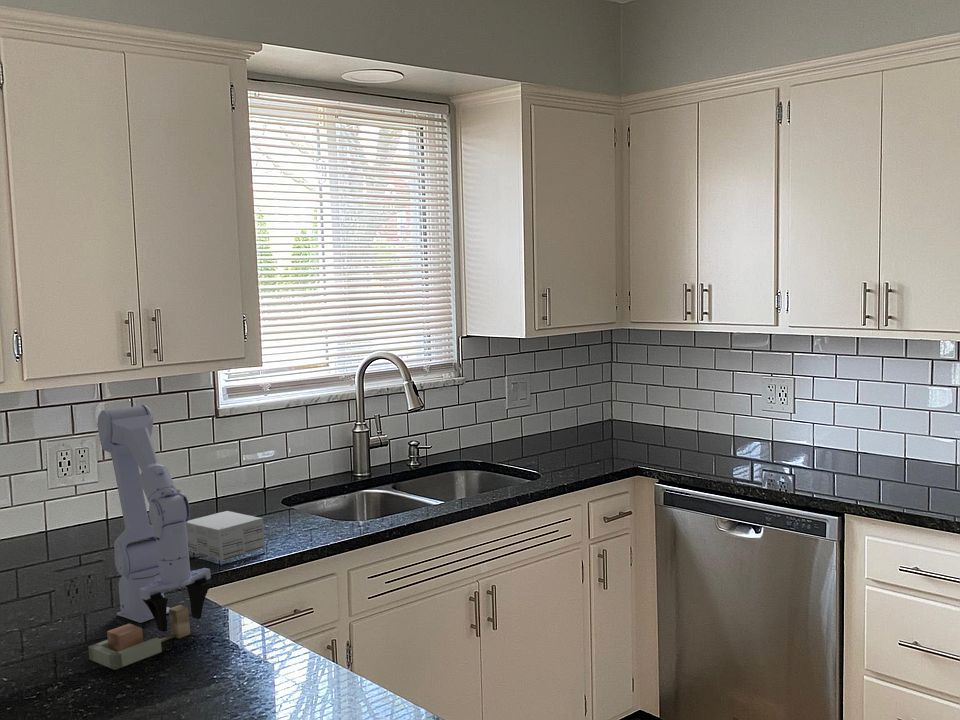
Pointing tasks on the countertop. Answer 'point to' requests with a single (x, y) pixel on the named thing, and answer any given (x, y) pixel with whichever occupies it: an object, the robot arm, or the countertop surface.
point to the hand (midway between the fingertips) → (179, 624)
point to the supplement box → (225, 535)
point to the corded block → (133, 634)
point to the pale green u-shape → (123, 653)
